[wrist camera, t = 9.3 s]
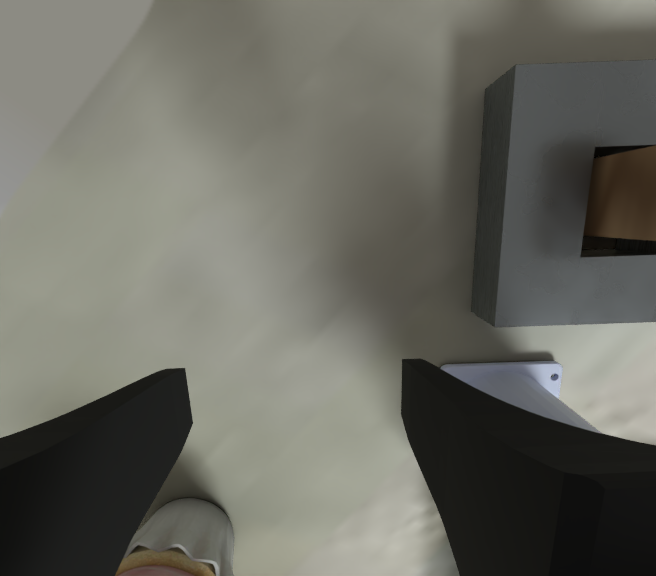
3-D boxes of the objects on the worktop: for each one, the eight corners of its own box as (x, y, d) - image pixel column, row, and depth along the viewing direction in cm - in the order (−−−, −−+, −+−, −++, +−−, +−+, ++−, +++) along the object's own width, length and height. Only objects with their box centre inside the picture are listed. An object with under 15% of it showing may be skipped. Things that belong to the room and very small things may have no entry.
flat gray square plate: (672, 305, 21) (728, 319, 18) (471, 311, 21) (494, 327, 18) (718, 80, 18) (793, 54, 15) (485, 89, 18) (516, 64, 15)
